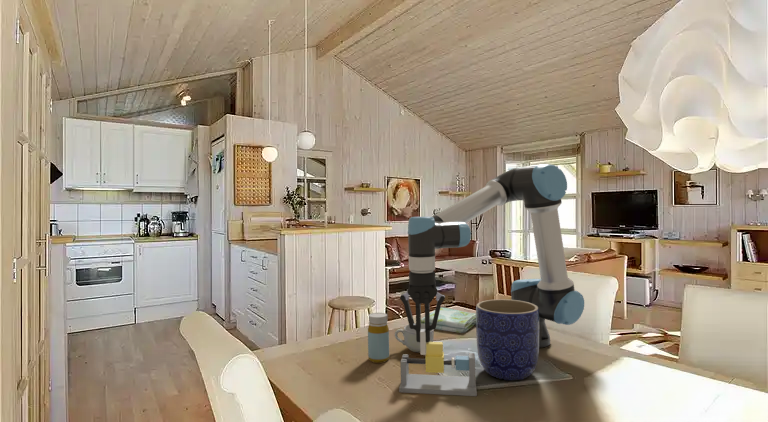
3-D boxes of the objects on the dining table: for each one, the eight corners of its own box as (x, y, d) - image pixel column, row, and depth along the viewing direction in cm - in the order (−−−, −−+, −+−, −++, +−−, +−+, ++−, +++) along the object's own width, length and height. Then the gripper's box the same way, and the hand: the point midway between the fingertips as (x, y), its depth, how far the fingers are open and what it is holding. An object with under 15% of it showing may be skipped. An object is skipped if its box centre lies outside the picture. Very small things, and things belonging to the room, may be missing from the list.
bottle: (367, 356, 149) (367, 312, 149) (388, 355, 150) (387, 311, 149) (368, 363, 142) (368, 318, 142) (390, 362, 143) (389, 317, 142)
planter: (496, 357, 145) (496, 296, 145) (550, 372, 132) (549, 305, 132) (464, 373, 132) (463, 306, 132) (520, 391, 119) (519, 317, 119)
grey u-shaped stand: (475, 381, 127) (474, 349, 127) (476, 396, 117) (476, 362, 117) (403, 377, 130) (403, 347, 130) (399, 392, 120) (398, 359, 120)
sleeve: (444, 367, 126) (443, 340, 125) (443, 373, 121) (443, 345, 121) (426, 366, 126) (426, 340, 126) (425, 372, 122) (425, 345, 122)
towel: (465, 334, 172) (465, 322, 172) (417, 327, 183) (417, 315, 183) (481, 323, 187) (481, 311, 187) (436, 317, 199) (436, 306, 199)
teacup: (434, 344, 160) (433, 323, 159) (434, 355, 149) (434, 332, 149) (396, 344, 161) (395, 322, 161) (394, 354, 150) (393, 331, 150)
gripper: (445, 268, 126) (446, 349, 127) (400, 268, 128) (402, 347, 129) (444, 273, 119) (446, 358, 119) (397, 272, 121) (399, 356, 122)
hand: (423, 353), depth 124 cm, fingers closed
